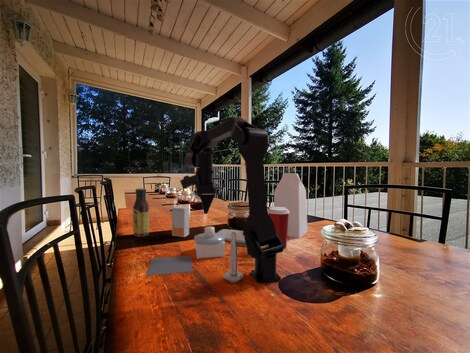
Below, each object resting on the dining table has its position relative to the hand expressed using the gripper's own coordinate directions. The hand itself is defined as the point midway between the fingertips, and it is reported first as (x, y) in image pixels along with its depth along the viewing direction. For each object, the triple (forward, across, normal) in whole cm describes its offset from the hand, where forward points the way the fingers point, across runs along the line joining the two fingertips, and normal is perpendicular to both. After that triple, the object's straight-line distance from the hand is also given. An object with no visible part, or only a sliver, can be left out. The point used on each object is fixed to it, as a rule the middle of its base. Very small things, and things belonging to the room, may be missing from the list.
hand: (204, 211), depth 89 cm
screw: (+13, +29, +5) cm, 32 cm away
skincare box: (+13, -17, -9) cm, 23 cm away
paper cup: (+13, +5, +26) cm, 30 cm away
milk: (+13, -12, +38) cm, 42 cm away
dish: (+13, +8, +1) cm, 15 cm away
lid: (+8, +8, +1) cm, 11 cm away
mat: (+13, +16, -11) cm, 23 cm away
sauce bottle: (+13, -20, -25) cm, 35 cm away
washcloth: (+14, -6, +12) cm, 19 cm away
